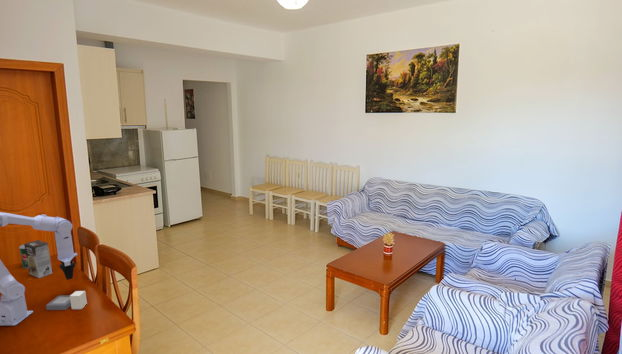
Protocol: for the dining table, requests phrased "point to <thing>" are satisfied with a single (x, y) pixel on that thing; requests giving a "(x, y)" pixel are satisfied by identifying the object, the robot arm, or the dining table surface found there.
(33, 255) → the coffee box
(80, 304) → the cream block
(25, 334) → the dining table surface
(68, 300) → the gray base
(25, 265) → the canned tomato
